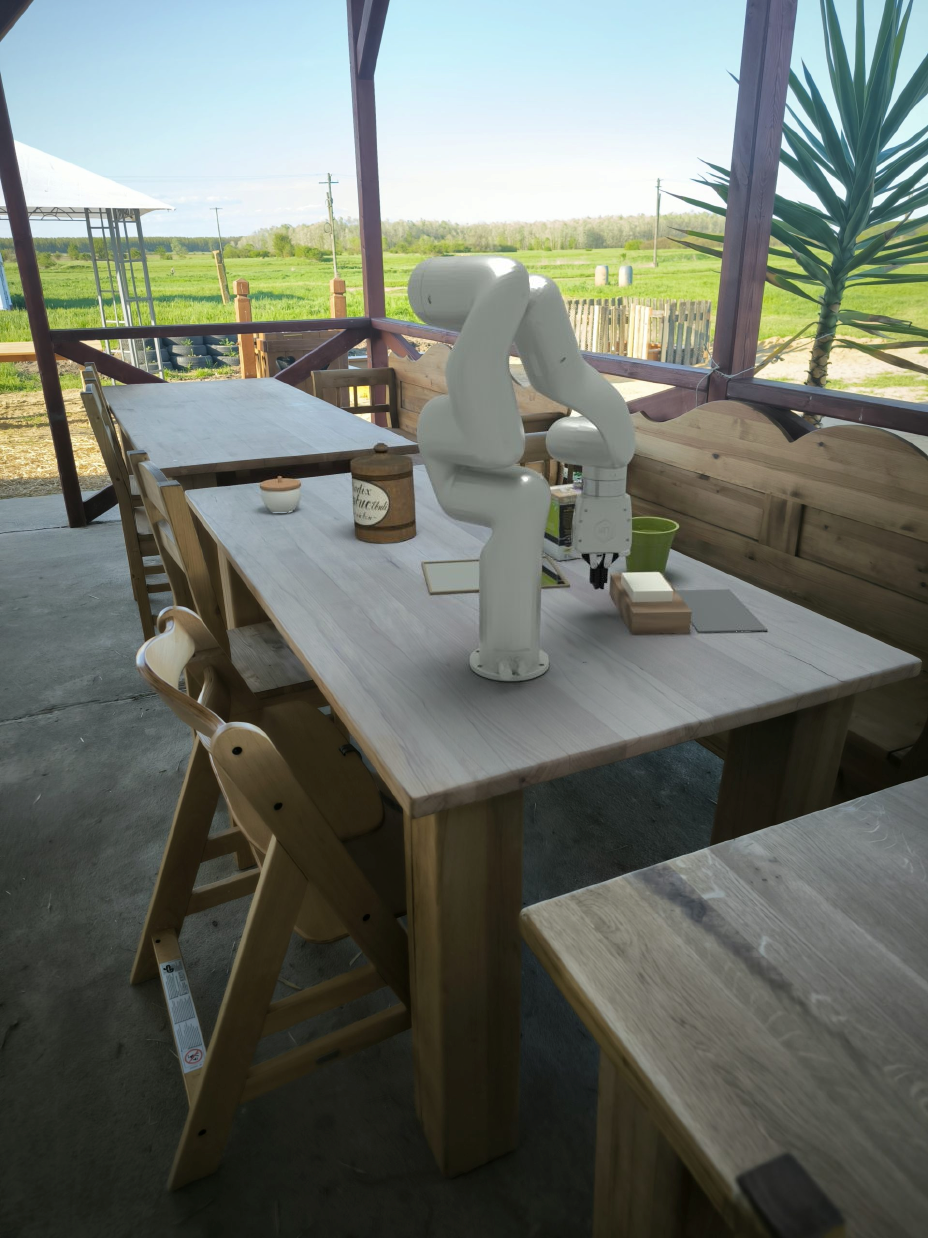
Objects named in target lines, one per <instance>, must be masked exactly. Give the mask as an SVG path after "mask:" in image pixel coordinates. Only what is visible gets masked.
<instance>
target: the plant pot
mask: <svg viewBox="0 0 928 1238" xmlns="http://www.w3.org/2000/svg"><path fill="white" fill-rule="evenodd" d="M679 528H680V525H679V523H677V522H676V521H674V520H671V519H668V518H663V517H658V516H657V517H656V516H636V517H632V544H631V548H630V555H628V556H624V557H625V565H626V566H625V567H626V573H633V572H659V573H662V574H663V575H664V576H665V572H666V567H667V565H668V564H667V563H668V561H669V560H668V559H669V556H670V551H671V548H672V544H673V543H672V542H673V541H674V538H675V535H676V532H677V531H678V529H679Z"/></svg>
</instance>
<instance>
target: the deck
mask: <svg viewBox="0 0 928 1238" xmlns="http://www.w3.org/2000/svg"><path fill="white" fill-rule="evenodd" d="M660 574H661V575H662V576H663V578H664V579H665V580H666V582H667V583H668V584H669V586H670V587H671V588H672V590H673V600H672V601H666V602H632V600H631V598H630V597H629V595H628V593H627V592H626V590H625V589H624V587H623V585H622V584H621V576H622V573H610V577H609V592H608V595H609V596H610V598H611V599H612V601H613V603H614V605H615V606H616V609H617V610H618V612H619V614H620V615H621V618H622V620H623V621H624V623H625V625H626V626H627V628H628V629H629V632H630V633H631V635H667V633H668V634H669V633H670V634H671V633H680V634H690V632H691V625H692V624H691V615H692V611H691V610H690V609H689V607H688V606H687V605H686V603H685V602H684V601H683V600H682V598H681V597H680V596H679V594H678V593H677V592H676V591H675V590H676V589H675V588H674V586H672V583H670V581H669V580H668V579H667V578H666V576H665V574H664V575H663V574H662V573H660ZM660 633H661V634H660ZM662 633H663V634H662ZM670 634H669V635H670ZM671 635H672V634H671Z"/></svg>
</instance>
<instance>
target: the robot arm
mask: <svg viewBox="0 0 928 1238" xmlns="http://www.w3.org/2000/svg"><path fill="white" fill-rule="evenodd" d="M408 278H409V279H408V282H407V289H406V290H407V293H406V294H407V298H408V302H409V305H410V308H411V309H412V312H413V313H414V314H415V316H416V318H418V319H419V320H420V321H421V322H423V323H424V324H425V325H427V326H429V327H433V328H438V329H443V330H446V331H451V332H455V333H458V336H457V337H456V340H455V342H454V344H453V346H452V348H451V350H450V352H449V354H448V356H447V360H446V362H445V368H444V369H445V370H444V376H445V383H446V387H447V392H448V394H442V395H437V396H435V397H433V398H431V399H429V400H428V401H427V402H426V403H425V404H424V405H423V407H422V409H421V411H420V412H419V415H418V419H417V425H416V437H417V438H416V440H417V447H418V450H419V452H420V457H421V459H422V462H423V464H424V468H425V470H426V472H427V477H428V479H429V481H430V482H429V483H430V485H431V487H432V489H433V493H434V495H435V498H436V500H437V502H438V506H439V507H440V508H441V511H443V513H444V514H445V515H446V516H447V517H449V518H450V519H453V520H455V521H459V522H462V523H465V524H466V523H467V524H471V525H476V526H482V527H484V528H487V529H490V530H491V531H492V532H491V535H490V537H489V539H488V540H487V542H486V543H485V545H484V546H483V547H482V549H481V551H480V554H479V558H478V559H479V593H478V614H479V615H478V640H479V641H478V648H476V649H475V650H473V651H472V652H471V653H470V655H469V667H470V668H471V670H472V671H473V672H475V673H476V674H477V675H478V676H480V677H482V678H486V679H489V680H493V681H499V682H520V681H521V682H522V681H528V680H531V679H534V678H538V677H539V676H541V675H543V674H544V673H546V672H547V670H548V669H549V667H550V656H549V655H548V654H547V653H546V652H545V651H544V650H543V649H542V648H541V647H540V646H541V644H540V643H541V642H540V641H541V615H542V614H541V609H542V589H541V581H542V556H543V553H544V552H543V541H544V534H545V528H546V523H547V518H548V514H549V509H550V504H551V489H550V486H551V485H550V484H549V482H548V480H547V479H546V478H545V477H544V476H543V474H541V473H540V472H538V471H536V470H535V469H532V468H529V467H527V466H521V465H517V463H518V462H519V461H520V460H521V459H522V457H523V455H524V453H525V449H526V435H525V427H524V424H523V420H522V419H523V418H522V416H521V411H520V408H519V403H518V401H517V396H516V392H515V388H514V384H513V379H512V374H511V369H510V357H511V350H512V346H513V345H514V348H515V351H516V353H517V355H518V358H519V360H520V362H521V365H522V367H523V370H524V372H525V374H526V377H527V380H528V382H529V384H530V386H531V387H532V388H533V390H534V391H536V392H537V393H539V394H541V395H542V396H544V397H545V398H547V399H549V400H551V401H553V402H554V403H557V404H559V405H561V406H564V407H565V408H567V409H570V410H572V411H574V412H576V413H578V414H579V415H581V416H565V417H562V418H560V419H557V420H555V422H553V423H552V425H551V426H550V427H549V429H548V431H547V432H546V435H545V448H546V450H547V452H548V455H549V456H550V457H551V458H553V459H554V460H555V461H557V462H559V463H563V464H567V465H576V466H581V467H582V471H581V475H580V478H579V479H578V480H573V482H572V484H573V488H578V489H580V490H581V492H580V493H578V495H577V499H576V503H575V508H574V514H573V522H572V531H571V542H572V545H571V548H570V552H569V553H570V555H571V556H572V557H576V558H575V559H582V560H584V561H585V562H586V564H588V565H589V584H591V585H592V586H593V589H594V590H599V589H600V590H605V584H607V583H608V577H609V576H608V575H609V568H610V567H611V566H612V564H613V563H614V562H616V561H617V560H618V558H624V557H625V556H628V555H630V548H631V544H632V518H633V514H632V501H631V495H630V494H628V493H627V492H626V487H627V473H628V472H627V470H628V464H630V463H631V460H632V459H633V457H634V455H635V450H636V441H637V440H636V433H635V428H634V424H633V421H632V420H633V419H632V417H631V413H630V410H629V407H628V405H627V402H626V400H625V398H624V397H623V396H622V394H621V393H620V391H619V390H618V389H617V388H616V387H615V386H614V385H613V384H612V383H611V382H609V380H608V379H606V377H605V376H604V375H602V373H600V372H599V371H598V370H596V369H595V368H594V367H593V366H592V365H591V364H589V363H588V362H587V361H585V359H584V358H583V355H582V351H581V349H580V345H579V343H578V340H577V337H576V335H575V332H574V328H573V325H572V322H571V319H570V316H569V313H568V310H567V307H566V305H565V301H564V297H563V296H562V293H561V291H560V288H559V286H558V285H557V283H556V281H554V280H553V279H552V278H551V277H549V276H547V275H544V274H541V273H535V272H534V273H533V272H532V273H531V272H528V269H527V267H526V266H525V265H524V264H523V263H522V262H521V261H519V260H518V259H516V258H513V257H510V256H507V255H506V256H505V255H501V254H499V255H498V254H473V255H458V256H457V255H455V256H454V255H452V256H435V257H434V256H433V257H429V258H426V259H424V260H422V261H420V262H419V263H418V264H417V265H416V266H415V267H414V269H412V271H411V273H410V275H409V277H408ZM596 553H603V554H602V555H601V559H600V561H599V563H598V557H597V556H598V555H596Z"/></svg>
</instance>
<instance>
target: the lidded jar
mask: <svg viewBox="0 0 928 1238" xmlns="http://www.w3.org/2000/svg"><path fill="white" fill-rule="evenodd" d="M301 486H302V481H300V480H299V479H296V478H288V477H287V478H283V477H282V476H280V475H279V476H277V478H272V479H267V480H264V481H262V482H260V483H259V489H260V496H261V500H262V502H263V504H264V506H265V507H266V508H267V509H268V510H269V511H270V512H271V511H272V512H289V511H293V510H294V511H295V509H296V508H297V507H298V506H299V504H300V502H301V498H302V487H301ZM272 512H271V513H272Z"/></svg>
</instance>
